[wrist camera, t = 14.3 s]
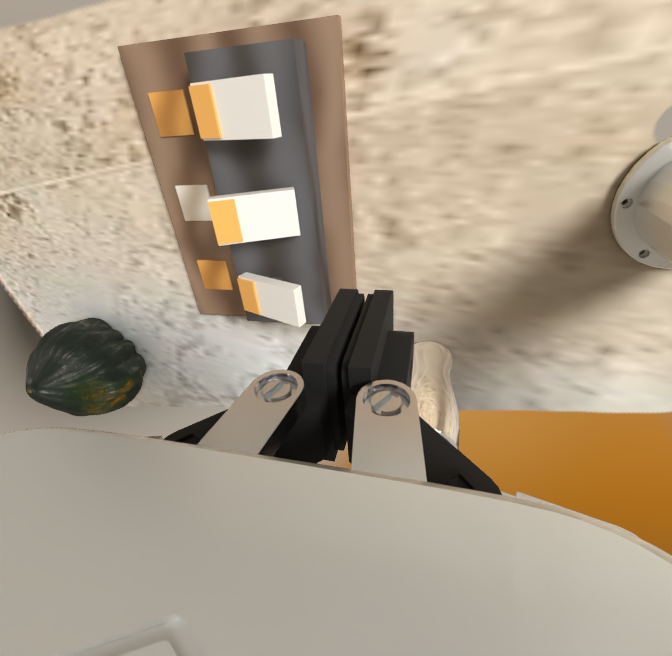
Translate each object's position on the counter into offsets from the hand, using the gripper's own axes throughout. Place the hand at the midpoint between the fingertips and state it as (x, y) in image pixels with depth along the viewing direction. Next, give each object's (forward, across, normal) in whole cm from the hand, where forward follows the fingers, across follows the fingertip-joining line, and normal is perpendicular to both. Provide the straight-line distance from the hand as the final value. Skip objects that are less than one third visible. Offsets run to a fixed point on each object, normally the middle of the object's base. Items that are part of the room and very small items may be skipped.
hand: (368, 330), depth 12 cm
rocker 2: (+24, +15, +3) cm, 28 cm away
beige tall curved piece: (+31, -2, +24) cm, 39 cm away
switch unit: (+30, +18, +3) cm, 36 cm away
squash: (+30, +48, +26) cm, 63 cm away
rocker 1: (+24, +15, -6) cm, 29 cm away
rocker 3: (+24, +15, +12) cm, 31 cm away
